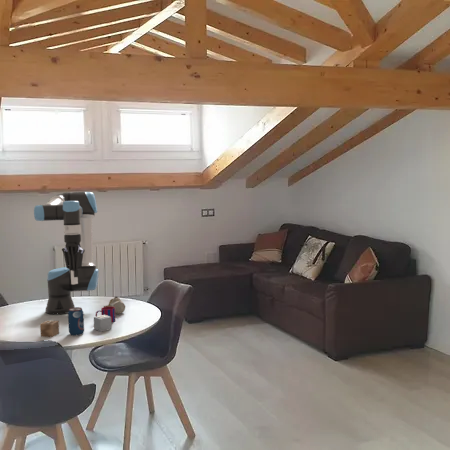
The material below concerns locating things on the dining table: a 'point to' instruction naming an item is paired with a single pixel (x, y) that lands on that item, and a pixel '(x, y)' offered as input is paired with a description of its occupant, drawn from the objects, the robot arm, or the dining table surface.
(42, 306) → the dining table surface
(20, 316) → the dining table surface
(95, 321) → the slate numbered block
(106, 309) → the mug
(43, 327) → the walnut numbered block
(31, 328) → the dining table surface
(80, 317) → the soda can
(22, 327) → the dining table surface
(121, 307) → the ceramic sculpture
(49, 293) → the robot arm
